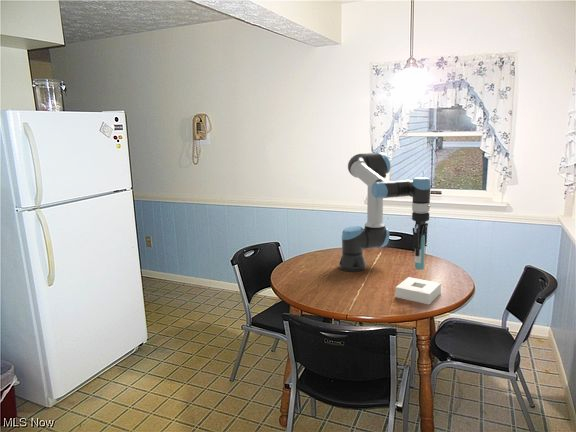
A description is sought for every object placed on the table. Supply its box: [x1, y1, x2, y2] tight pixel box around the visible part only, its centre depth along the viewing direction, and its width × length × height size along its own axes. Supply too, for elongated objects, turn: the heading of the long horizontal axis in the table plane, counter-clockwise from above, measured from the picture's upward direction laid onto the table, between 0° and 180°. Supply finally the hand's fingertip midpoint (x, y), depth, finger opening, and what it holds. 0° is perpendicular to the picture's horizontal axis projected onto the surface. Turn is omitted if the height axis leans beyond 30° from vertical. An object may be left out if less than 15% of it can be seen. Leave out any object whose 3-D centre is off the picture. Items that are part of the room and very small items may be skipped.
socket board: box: [394, 276, 442, 305], centre depth 201 cm, size 16×16×5 cm
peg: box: [414, 235, 426, 271], centre depth 197 cm, size 4×4×16 cm
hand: (419, 261), depth 198 cm, fingers closed on peg, 4 cm apart
